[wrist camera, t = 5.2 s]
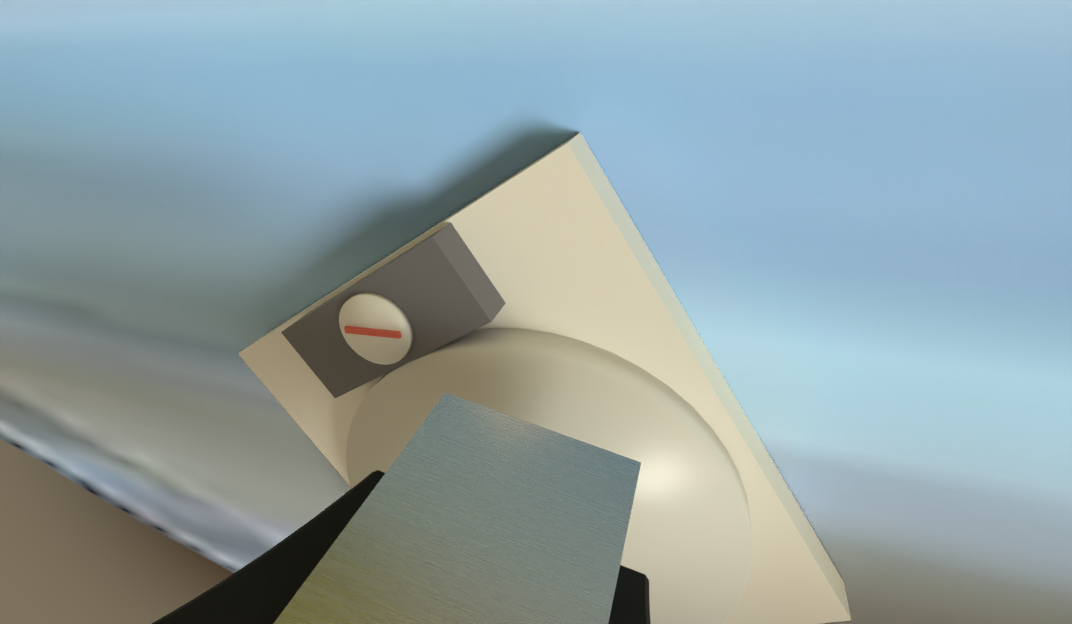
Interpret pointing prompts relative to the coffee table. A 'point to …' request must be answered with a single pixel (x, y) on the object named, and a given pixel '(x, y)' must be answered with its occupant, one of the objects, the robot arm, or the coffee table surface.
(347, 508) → the robot arm
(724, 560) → the scale
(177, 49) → the coffee table surface
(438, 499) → the block
